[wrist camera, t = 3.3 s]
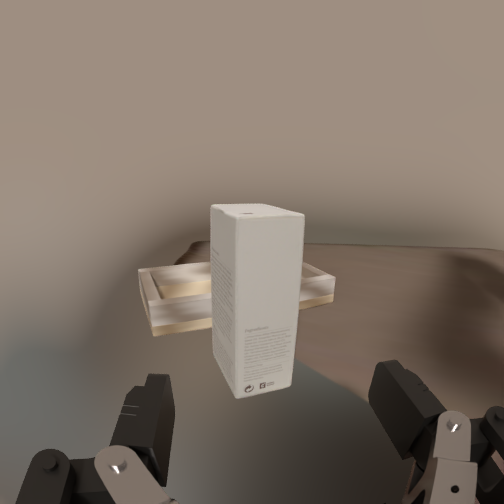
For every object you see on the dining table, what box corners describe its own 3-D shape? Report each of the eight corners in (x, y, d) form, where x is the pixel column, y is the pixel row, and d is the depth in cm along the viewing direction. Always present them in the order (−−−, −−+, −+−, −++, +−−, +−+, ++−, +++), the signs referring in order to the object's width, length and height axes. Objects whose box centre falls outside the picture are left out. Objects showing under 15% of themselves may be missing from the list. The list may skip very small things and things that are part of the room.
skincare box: (293, 387, 20) (308, 214, 17) (235, 401, 18) (234, 216, 15) (260, 345, 25) (265, 202, 22) (211, 354, 24) (207, 203, 21)
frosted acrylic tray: (284, 273, 44) (285, 253, 43) (332, 302, 34) (335, 277, 34) (140, 292, 36) (138, 269, 35) (153, 336, 26) (149, 306, 25)
